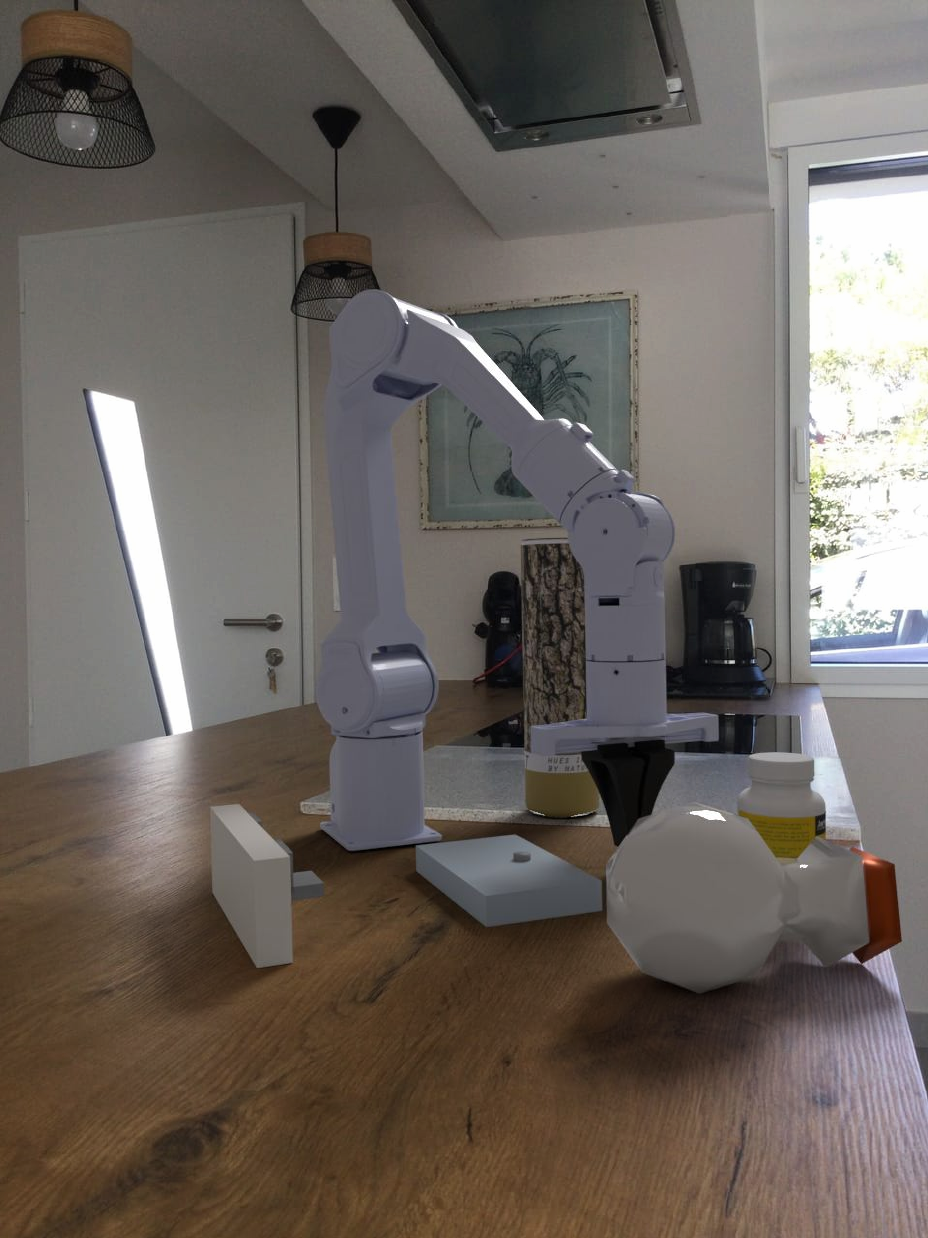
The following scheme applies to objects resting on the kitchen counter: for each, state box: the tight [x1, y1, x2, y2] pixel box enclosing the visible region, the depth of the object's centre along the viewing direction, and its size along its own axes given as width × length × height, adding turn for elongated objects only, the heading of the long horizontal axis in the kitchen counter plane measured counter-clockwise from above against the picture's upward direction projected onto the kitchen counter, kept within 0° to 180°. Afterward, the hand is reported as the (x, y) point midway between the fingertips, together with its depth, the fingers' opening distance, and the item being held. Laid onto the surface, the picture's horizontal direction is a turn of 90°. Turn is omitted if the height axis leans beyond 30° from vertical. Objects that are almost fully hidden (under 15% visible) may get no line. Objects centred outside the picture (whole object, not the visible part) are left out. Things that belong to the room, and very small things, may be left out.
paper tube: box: [520, 537, 600, 819], centre depth 97 cm, size 7×7×25 cm
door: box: [415, 834, 603, 928], centre depth 73 cm, size 14×8×3 cm, turn 21°
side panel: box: [209, 803, 325, 969], centre depth 67 cm, size 16×4×6 cm, turn 22°
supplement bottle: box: [736, 751, 827, 858], centre depth 67 cm, size 5×5×10 cm
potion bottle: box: [605, 800, 903, 994], centre depth 56 cm, size 9×10×15 cm
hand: (629, 847), depth 77 cm, fingers closed
